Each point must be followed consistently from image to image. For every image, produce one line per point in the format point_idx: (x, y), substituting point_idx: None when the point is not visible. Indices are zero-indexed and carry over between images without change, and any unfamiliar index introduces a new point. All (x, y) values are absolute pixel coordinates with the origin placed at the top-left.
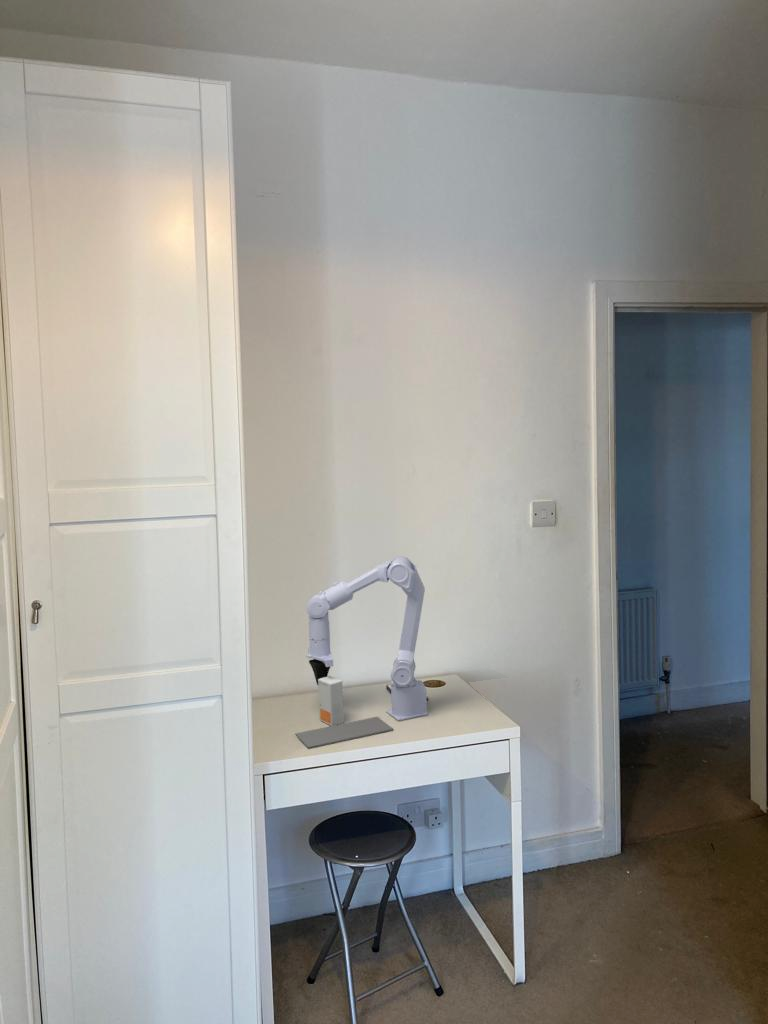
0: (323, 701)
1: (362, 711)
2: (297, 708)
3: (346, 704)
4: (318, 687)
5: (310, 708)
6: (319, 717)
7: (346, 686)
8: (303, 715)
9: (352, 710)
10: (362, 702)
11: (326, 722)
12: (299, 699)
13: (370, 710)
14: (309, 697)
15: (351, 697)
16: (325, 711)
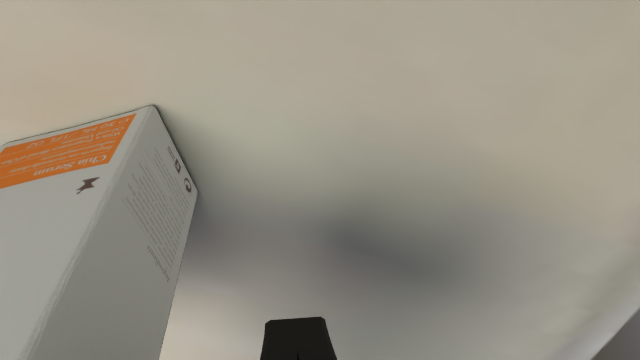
0: (4, 233)
1: (215, 331)
2: (494, 36)
3: (355, 299)
4: (32, 331)
5: (427, 121)
6: (146, 115)
7: (577, 348)
8: (323, 29)
9: (252, 301)
10: (336, 354)
11: (63, 132)
12: (636, 108)
13: (212, 357)
14: (608, 174)
15: (431, 335)
16: (26, 179)
